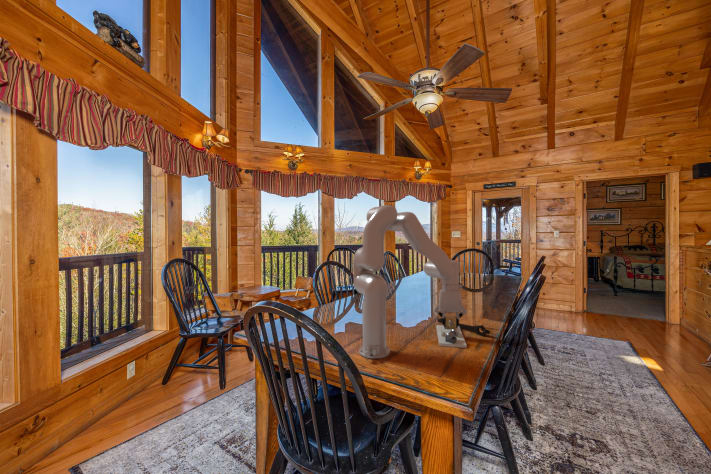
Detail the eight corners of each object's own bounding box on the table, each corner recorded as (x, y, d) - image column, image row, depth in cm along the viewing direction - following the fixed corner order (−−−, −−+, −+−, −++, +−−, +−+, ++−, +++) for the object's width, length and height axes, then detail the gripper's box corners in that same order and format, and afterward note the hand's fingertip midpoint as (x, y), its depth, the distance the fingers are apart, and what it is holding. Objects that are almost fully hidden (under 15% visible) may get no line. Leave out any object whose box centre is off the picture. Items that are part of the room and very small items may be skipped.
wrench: (444, 323, 159) (494, 336, 133) (437, 325, 156) (488, 339, 130) (443, 314, 159) (493, 324, 133) (436, 316, 156) (487, 327, 131)
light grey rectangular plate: (466, 347, 120) (466, 342, 120) (439, 345, 123) (439, 340, 123) (459, 328, 144) (459, 324, 144) (436, 327, 146) (436, 322, 146)
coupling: (456, 330, 129) (456, 318, 128) (446, 329, 130) (445, 317, 129) (454, 325, 135) (454, 313, 135) (444, 324, 136) (444, 313, 136)
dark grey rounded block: (450, 338, 128) (450, 328, 128) (458, 340, 125) (458, 330, 125) (444, 342, 123) (444, 331, 123) (452, 344, 121) (452, 333, 121)
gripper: (468, 286, 134) (468, 325, 134) (430, 285, 137) (431, 323, 138) (471, 289, 126) (471, 330, 127) (431, 288, 130) (431, 328, 131)
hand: (450, 326), depth 132 cm, fingers closed on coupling, 4 cm apart
